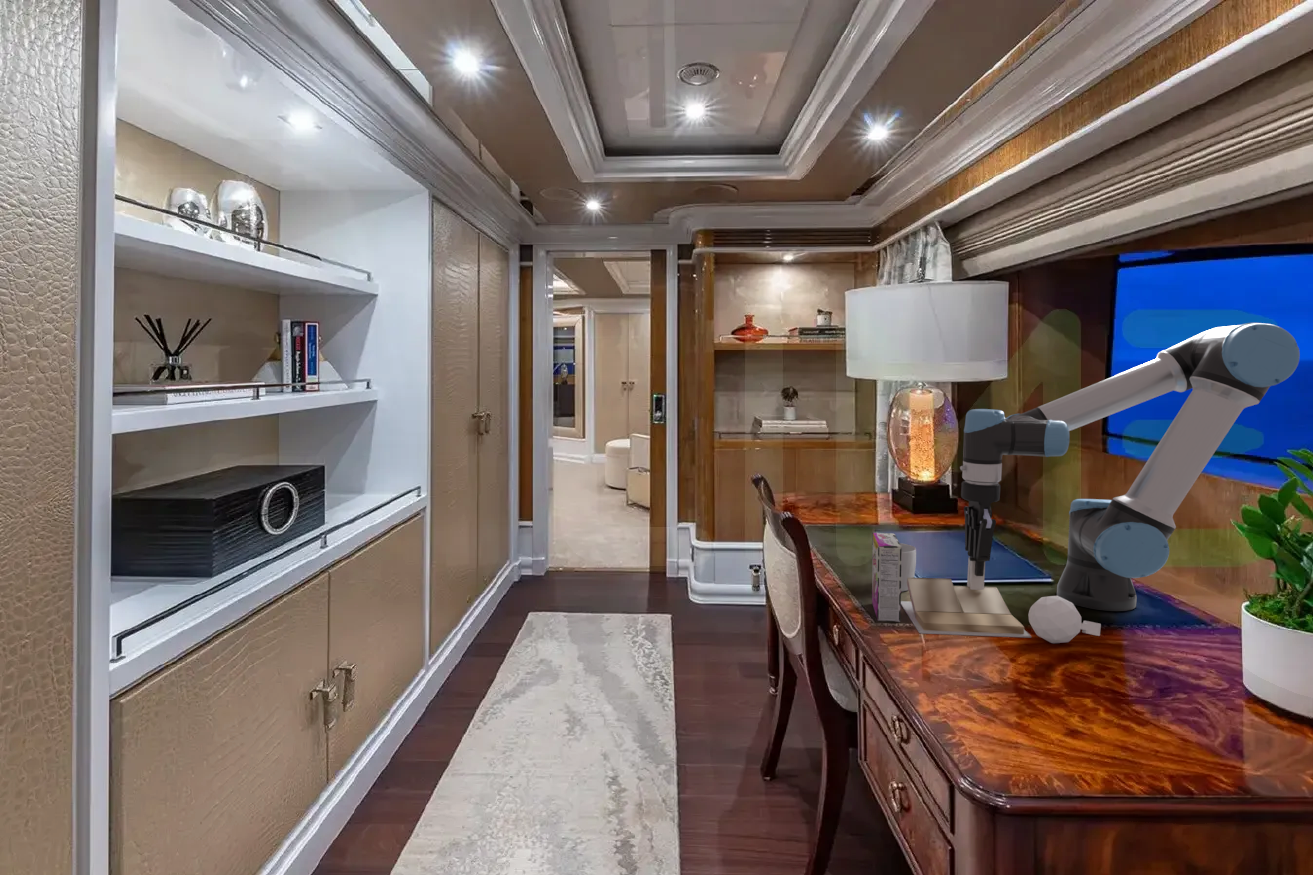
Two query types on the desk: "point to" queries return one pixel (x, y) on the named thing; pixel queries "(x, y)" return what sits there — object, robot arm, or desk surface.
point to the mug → (907, 564)
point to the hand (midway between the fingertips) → (975, 587)
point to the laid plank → (969, 622)
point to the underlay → (909, 610)
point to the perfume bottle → (1058, 620)
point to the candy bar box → (886, 577)
